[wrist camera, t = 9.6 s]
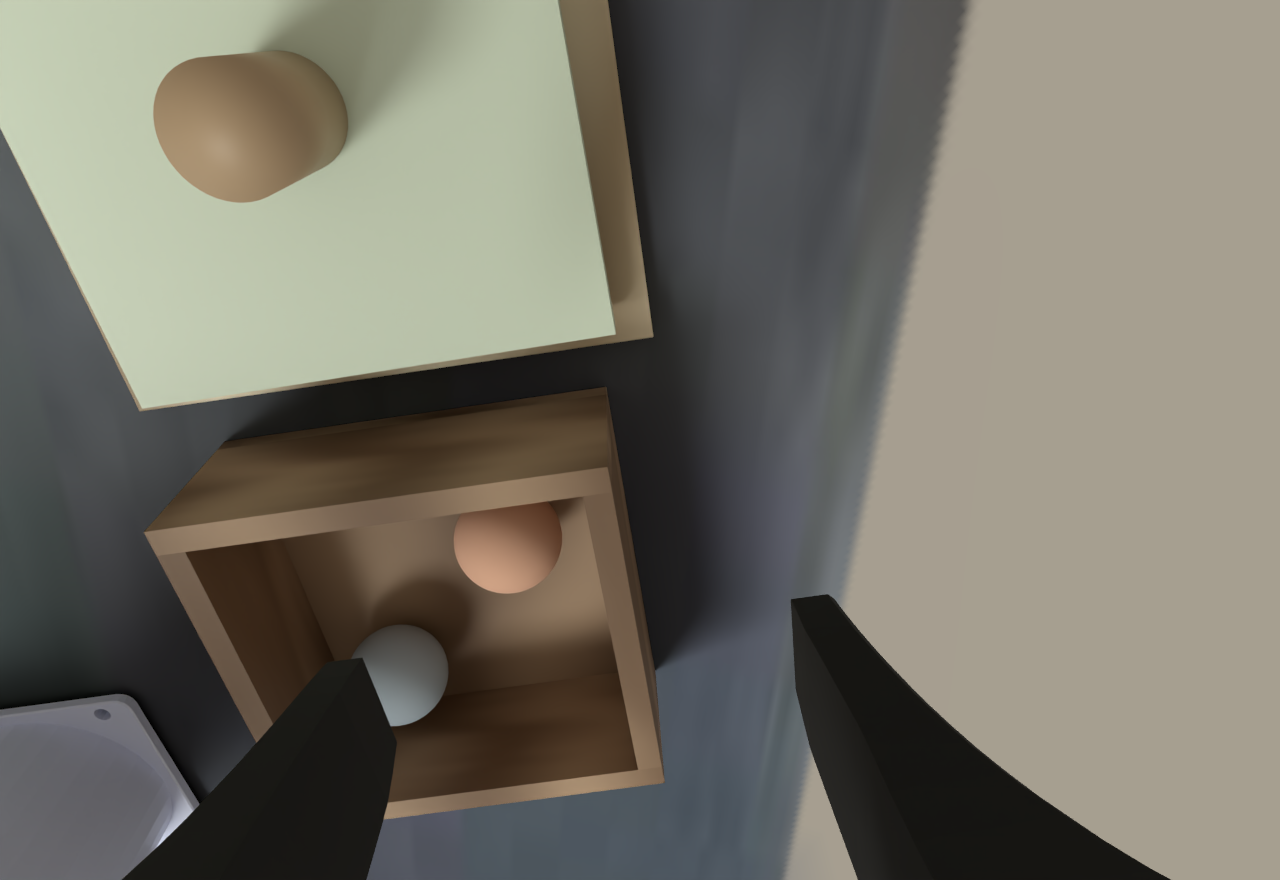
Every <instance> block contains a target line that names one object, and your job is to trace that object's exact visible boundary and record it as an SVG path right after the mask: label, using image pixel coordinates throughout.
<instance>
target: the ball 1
mask: <svg viewBox="0 0 1280 880" xmlns="http://www.w3.org/2000/svg"><path fill="white" fill-rule="evenodd" d="M355 658H363V660H364V662H365V665H366V667H367V670H368V672H369V675H370V677H371V680H372V682H373V684H374V687H375V689H376V692H377V694H378V697H379V699H380V702H381V704H382V706H383V709H384V711H385V714H386V716H387V719H388V721H389V723H390V726H402V725H406V724H410V723H412V722H415V721H417V720H419V719H421V718H422V717H424V716H425V715H427V714H428V713H429V712H430V711H431V710H432V709H433V708H434V707H435V706H436V705H437V703H438V702H439V700H440V699H441V697H442V695H443V693H444V691H445V688H446V685H447V681H448V673H449V672H448V661H447V657H446V654H445V652H444V650H443V648H442V646H441V644H440V643H439V642H438V641H437V639H436V638H435V637H434V636H433V635H431V634H430V633H429V632H427V631H425V630H423V629H421V628H419V627H416V626H412V625H392V626H388V627H384V628H382V629H379V630H377V631H376V632H374V633H372V634H371V635H369V636H368V637H367V638H366V639H365V640H364V641H363V642H362V643H361V644H360V645H359V646H358V647H357V649H356V650H355V652H354V654H353V656H352V658H351V659H355Z"/></svg>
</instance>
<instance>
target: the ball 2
mask: <svg viewBox="0 0 1280 880" xmlns="http://www.w3.org/2000/svg"><path fill="white" fill-rule="evenodd" d="M561 547H562V529H561V525H560V522H559V519H558V516H557V514H556V513H555V511H554V509H553V508H552V506H551V505H550V504H549V503H548V502H547V501H546V502H539V503H532V504H525V505H518V506H511V507H503V508H496V509H489V510H482V511H475V512H468V513H461V514H460V516H459V519H458V521H457V523H456V527H455V531H454V550H455V555H456V558H457V561H458V563H459V565H460V567H461V568H462V570H463V572H464V573H465V574H466V575H467V576H468V577H469V578H470V579H471V580H472V581H473V582H474V583H475V584H477V585H478V586H480V587H482V588H484V589H486V590H489V591H492V592H496V593H503V594H510V593H518V592H522V591H525V590H527V589H530V588H532V587H534V586H536V585H537V584H539V583H540V582H541V581H542V580H544V579H545V578H546V577H547V576H548V575H549V573H550V572H551V571H552V569H553V568H554V567H555V565H556V563H557V561H558V558H559V555H560V552H561Z"/></svg>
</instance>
